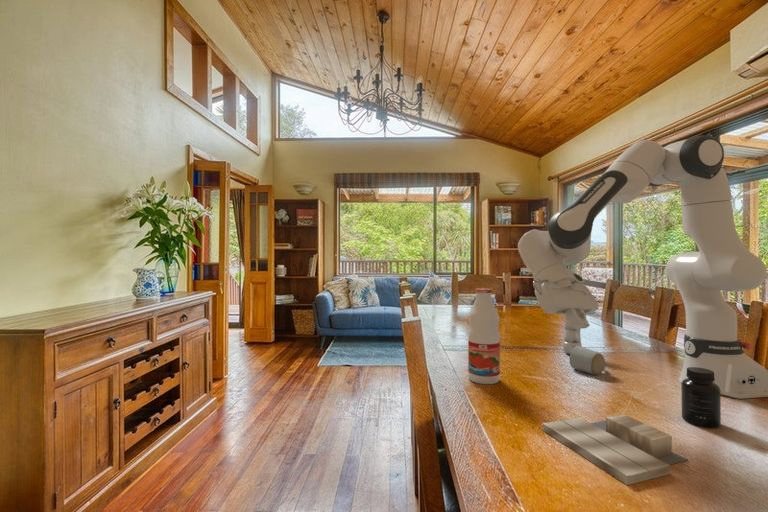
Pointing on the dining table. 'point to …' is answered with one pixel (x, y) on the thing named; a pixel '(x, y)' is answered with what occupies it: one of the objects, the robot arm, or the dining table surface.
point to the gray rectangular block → (639, 435)
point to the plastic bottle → (570, 335)
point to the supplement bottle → (701, 398)
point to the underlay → (666, 459)
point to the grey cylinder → (587, 360)
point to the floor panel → (607, 450)
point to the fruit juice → (484, 340)
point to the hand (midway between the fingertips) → (584, 327)
